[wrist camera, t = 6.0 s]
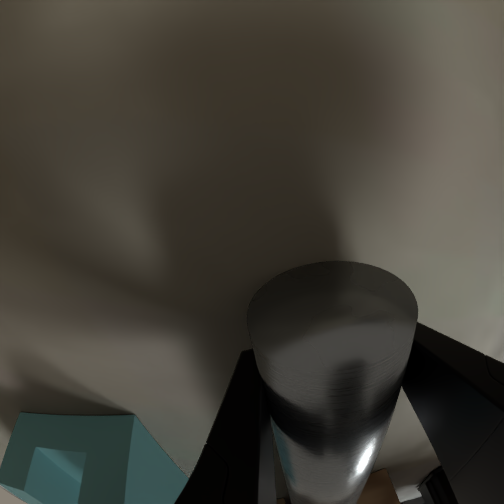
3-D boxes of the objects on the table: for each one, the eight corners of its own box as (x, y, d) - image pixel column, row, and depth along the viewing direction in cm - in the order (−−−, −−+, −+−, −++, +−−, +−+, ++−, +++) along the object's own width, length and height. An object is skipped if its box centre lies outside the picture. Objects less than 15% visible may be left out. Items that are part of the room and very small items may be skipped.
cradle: (134, 414, 11) (123, 510, 7) (210, 500, 16) (215, 553, 12) (20, 412, 11) (-4, 481, 7) (122, 500, 16) (119, 548, 12)
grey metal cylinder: (371, 249, 9) (451, 332, 5) (343, 476, 17) (359, 521, 13) (238, 279, 9) (261, 393, 5) (288, 491, 17) (299, 538, 13)
